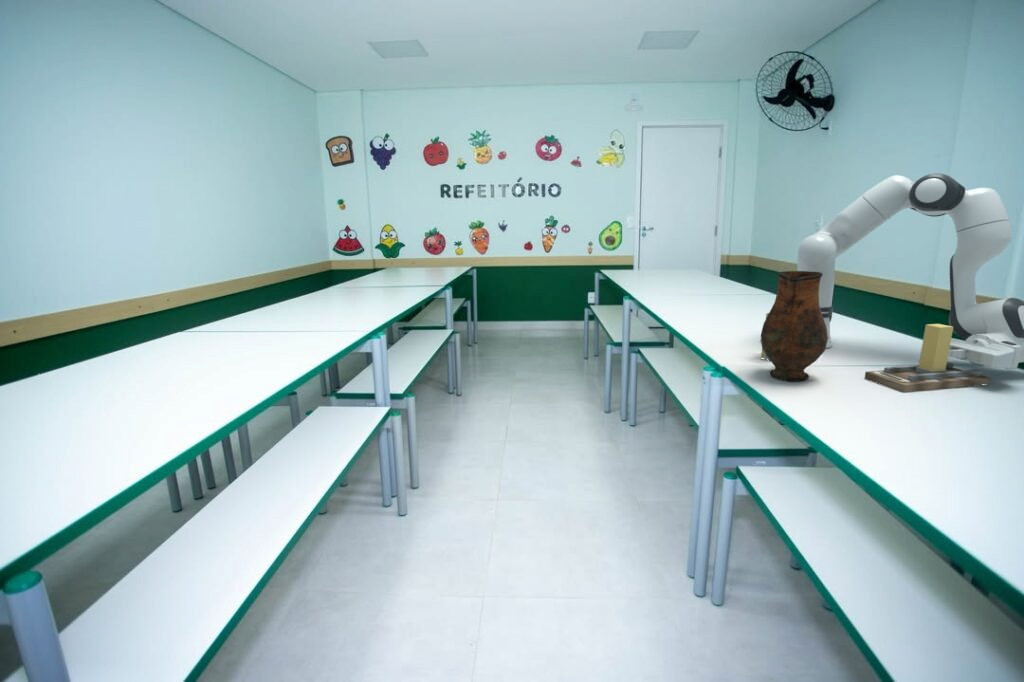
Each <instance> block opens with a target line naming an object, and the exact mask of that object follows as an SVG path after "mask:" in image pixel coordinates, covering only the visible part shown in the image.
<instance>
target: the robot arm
mask: <svg viewBox="0 0 1024 682" xmlns="http://www.w3.org/2000/svg"><path fill="white" fill-rule="evenodd" d="M906 209H910V210H913V211H915V212H918V213H919V214H921V215H925V216H926V217H932V218H933V217H942V216H946V215H948V216H950V218H951V219H952V221H953V224H954V227H955V228H954V229H955V233H956V237H957V238H956V240H957V242H956V249H955V251H954V254H953V255H952V256H951V258H950V261H949V290H950V292H949V293H950V294H949V295H950V311H949V317H948V324H949V325H948V326H952V327H953V332H952V333H954V334H955V335H957V336H958V337H960V338H962V339H958V338H953V337H951V343H950V348H949V353H948V358H954V359H958V360H962V361H966V362H969V363H970V364H972V365H974V366H978V367H984V366H985V367H989V368H993V369H994V368H995V369H1006V370H1007V369H1008V370H1017V368H1018V365H1019V364H1020V363H1024V300H1023V299H1020V298H1016V297H1009V298H1004V299H1002V298H1001V299H996V300H992V301H986V302H982V303H977V296H976V294H977V293H976V275H977V273H978V271H979V270H980V269H981V268H982V267H983V266H984V265H985V264H987V263H988V262H990V261H991V260H993V259H994V258H996V257H997V256H999V255H1000V254H1002V252H1004V251H1005V250H1006V249H1007V248H1008V246H1009V245H1010V243H1011V241H1012V235H1013V234H1012V233H1013V231H1012V227H1011V224H1010V223H1011V222H1010V219H1009V215H1008V212H1007V210H1006V207H1005V205H1004V202H1003V201H1002V197H1001V196H1000V194H999V193H998V191H997V190H995V189H993V188H991V187H977V188H972V189H967V190H966V187H965V186H963V185H962V184H960V182H959V181H956V179H955V178H953V177H952V176H950V175H947V174H945V173H939V172H938V173H930V174H927V175H924V176H922V177H920V178H918V179H917V180H915V182H913V181H912V180H911V179H910V178H908V177H907V176H903V175H901V174H896V175H895V174H894V175H891V176H889V177H887V178H885V179H883V180H882V181H881V182H879V183H877V184H875V185H874V186H872V187H871V188H869V189H868V190H867V191H865V192H864V193H863V194H862V195H860V196H859V197H858V198H856V199H855V200H854V201H853V202H852V203H850V204H849V205H848V206H846V207H845V208H844V209H842V210H841V211H840V212H838V214H837V215H836V216H834V217H833V218H832V219H831V220H830V221H829V222H827V223H826V224H825V225H824V226H823V227H822V228H820V229H819V230H818V231H816V232H815V233H814V234H811V235H809V236H807V237H805V238H804V239H803V240H802V241H801V242H800V244H799V245H798V249H797V263H796V264H797V267H796V269H797V270H796V271H810V272H820V273H822V274H823V275H822V276H821V279H820V284H819V306H820V309H821V313H822V316H823V319H824V321H825V324H826V327H827V334H828V340H827V344H826V348H825V349H828V348H832V346H833V344H832V338H831V322H832V318H833V311H834V309H833V308H834V306H832V302H833V295H834V289H835V288H834V287H835V269H836V259H837V258H839V257H840V256H841V255H843V254H844V253H845V252H846V251H848V250H849V249H851V248H852V247H853V246H855V245H856V244H857V243H859V242H860V241H861V240H862V239H864V238H865V237H867V236H868V235H869V234H871V232H873V231H875V230H876V229H877V228H879V227H880V226H882V224H884V223H886V222H887V221H888V220H890V219H892V217H894V216H895V215H896V214H898V213H899V212H902V211H903V210H906ZM963 339H964V340H963Z"/></svg>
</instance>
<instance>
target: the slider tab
mask: <svg viewBox="0 0 1024 682" xmlns="http://www.w3.org/2000/svg"><path fill="white" fill-rule="evenodd" d="M953 333H954V332H953V327H952V326H950V325H947V324H946V325H945V324H941V323H930V324H929V323H928V324H925V328H924V333H923V339H922V345H921V350H920V357H919V361H918V362H919V363H918V365H919V367H916V371H915V372H916V373H919V374H926V373H939V372H947V371H948V370H945V369H946V364H947V362H948V358H949V357H948V353H949V348H950V343H951V338H953V337H952V336H953Z"/></svg>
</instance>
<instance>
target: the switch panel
mask: <svg viewBox="0 0 1024 682" xmlns="http://www.w3.org/2000/svg"><path fill="white" fill-rule="evenodd" d="M954 365H955V364H954V362H948V361H947V364H946V369H945V370H948V371H947V372H939V373H926V374H919V373H916V372H915V371H916V367H919V364H910V365H898V366H887V367H886V366H885V367H884V369H881V370H871V371H870V370H869V371H865V373H864V379H865V378H866V380H867V379H869V380H868V381H870V380H872V381H871V382H873V381H874V383H876V382H877V383H876V384H879V383H880V384H879V385H881V384H882V386H884V385H885V386H884V387H887V388H890V389H893V390H896V391H898V392H901V393H911V392H914V393H915V392H922V391H923V392H924V391H935V390H946V389H957V388H956V387H959V388H966V387H965V386H971V387H975V386H974V385H982V384H989V385H990V381H991V377H989V376H985V375H981V372H982V370H979V369H965V370H964V369H961V368H957V367H954ZM982 386H983V385H982Z"/></svg>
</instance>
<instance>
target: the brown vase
mask: <svg viewBox="0 0 1024 682" xmlns="http://www.w3.org/2000/svg"><path fill="white" fill-rule="evenodd" d="M822 275H823V274H822V273H820V272H810V271H797V270H790V271H789V270H788V271H787V270H786V271H778V272H777V276H778V283H777V291H776V292H777V293H776V295H775V300H774V303H773V305H772V307H771V309H770V311H769V312H768V313H769V314H768V316H767V318H766V317H765V320H764V321H763V324H762V329H761V333H760V342H761V349H762V348H763V350H764V352H765V354H766V355H767V357H768V358H769V360H770V363H772V365H773V367H774V369H771V370H770V371H769V373H770V374H769V376H770V375H771V376H770V377H771V378H773V377H774V378H773V379H775V378H777V379H776V380H778V379H781V380H780V381H784V380H786V381H785V382H804V381H806V380H808V379H809V374H808V373H807V372H805V369H807V368H808V367H809V366H811V365H812V364H814V363H815V362H816V361H817V360H818V359H819V358H820V356H821V355H823V353H824V352H825V351H826V349H827V348H826V344H827V340H828V334H827V327H826V324H825V321H824V319H823V316H822V313H821V309H820V306H819V284H820V279H821V276H822Z"/></svg>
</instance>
